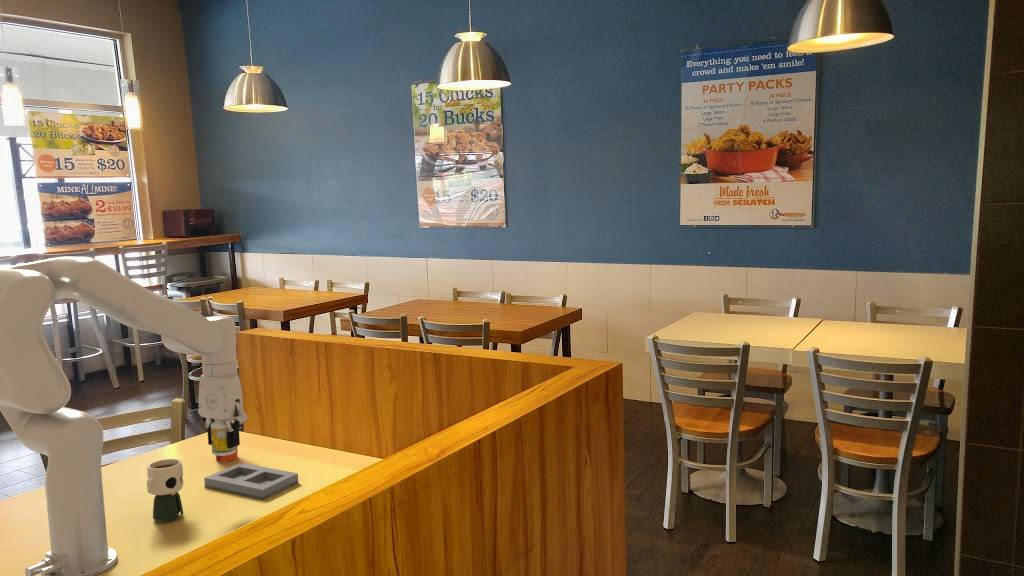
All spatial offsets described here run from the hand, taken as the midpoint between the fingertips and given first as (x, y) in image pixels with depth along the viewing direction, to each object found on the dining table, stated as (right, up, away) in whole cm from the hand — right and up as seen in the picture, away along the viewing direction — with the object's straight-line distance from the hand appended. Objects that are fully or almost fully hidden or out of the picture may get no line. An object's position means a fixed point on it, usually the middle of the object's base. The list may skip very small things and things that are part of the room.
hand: (224, 444), depth 171 cm
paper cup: (-13, -12, +35) cm, 39 cm away
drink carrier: (+1, -14, +15) cm, 20 cm away
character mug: (-11, -16, -5) cm, 20 cm away
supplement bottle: (0, -2, 0) cm, 2 cm away
